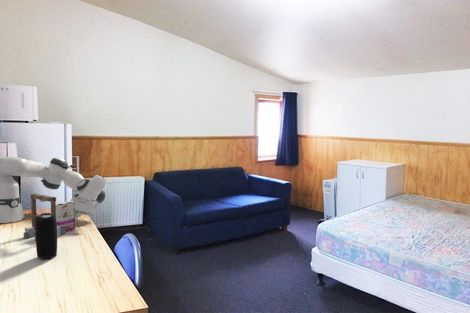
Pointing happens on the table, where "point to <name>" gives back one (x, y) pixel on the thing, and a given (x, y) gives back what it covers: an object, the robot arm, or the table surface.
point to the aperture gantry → (42, 199)
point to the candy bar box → (65, 215)
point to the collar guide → (32, 233)
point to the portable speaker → (46, 236)
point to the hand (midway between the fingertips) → (73, 219)
